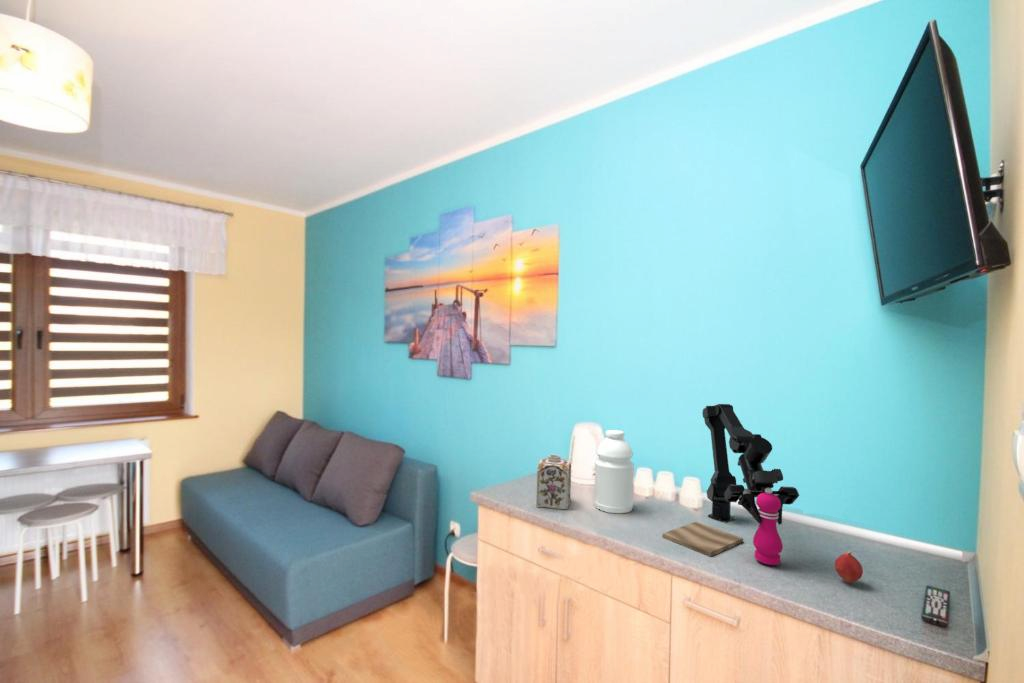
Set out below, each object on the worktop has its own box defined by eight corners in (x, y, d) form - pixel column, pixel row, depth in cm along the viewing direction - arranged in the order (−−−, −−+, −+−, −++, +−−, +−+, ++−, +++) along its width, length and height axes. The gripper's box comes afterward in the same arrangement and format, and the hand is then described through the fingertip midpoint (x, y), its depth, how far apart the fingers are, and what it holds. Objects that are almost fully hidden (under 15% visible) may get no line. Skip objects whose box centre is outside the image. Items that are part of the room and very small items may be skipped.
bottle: (638, 505, 172) (639, 430, 173) (626, 517, 161) (627, 436, 161) (602, 498, 180) (603, 426, 180) (588, 508, 168) (589, 431, 169)
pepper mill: (779, 556, 130) (780, 485, 130) (785, 568, 123) (786, 493, 123) (750, 552, 133) (752, 482, 133) (755, 563, 126) (756, 489, 126)
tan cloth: (695, 525, 154) (695, 521, 154) (743, 542, 141) (743, 538, 141) (662, 537, 144) (662, 533, 144) (710, 556, 131) (710, 552, 131)
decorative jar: (535, 507, 169) (536, 458, 169) (540, 497, 180) (541, 451, 180) (568, 510, 166) (569, 460, 166) (571, 500, 177) (572, 453, 178)
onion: (828, 577, 120) (829, 546, 120) (849, 576, 121) (849, 546, 121) (846, 589, 114) (847, 556, 114) (868, 588, 115) (868, 556, 115)
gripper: (728, 456, 133) (744, 508, 122) (796, 458, 131) (818, 511, 120) (717, 476, 140) (731, 526, 129) (781, 478, 139) (801, 529, 128)
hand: (770, 523), depth 127 cm, fingers closed on pepper mill, 5 cm apart
